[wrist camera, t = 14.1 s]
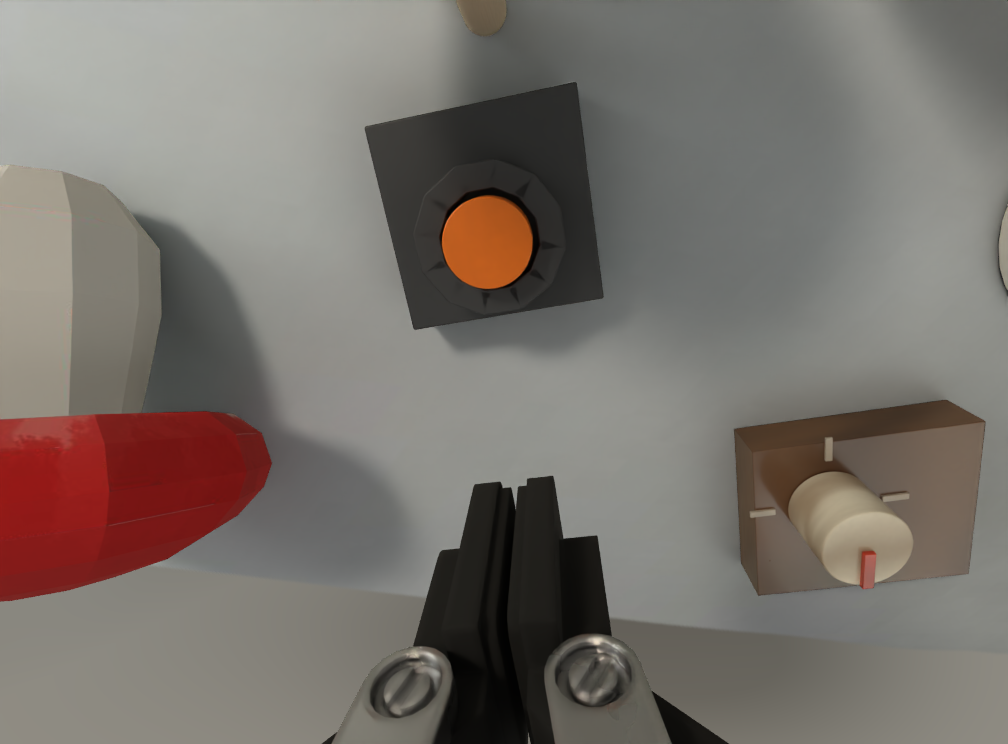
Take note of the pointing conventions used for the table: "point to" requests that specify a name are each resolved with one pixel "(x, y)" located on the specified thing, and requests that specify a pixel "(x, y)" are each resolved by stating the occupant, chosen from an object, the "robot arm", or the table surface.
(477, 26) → the planter
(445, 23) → the table surface
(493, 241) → the orange push button
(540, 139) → the button base
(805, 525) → the dial
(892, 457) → the dial panel
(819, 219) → the table surface
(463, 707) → the robot arm
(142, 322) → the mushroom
